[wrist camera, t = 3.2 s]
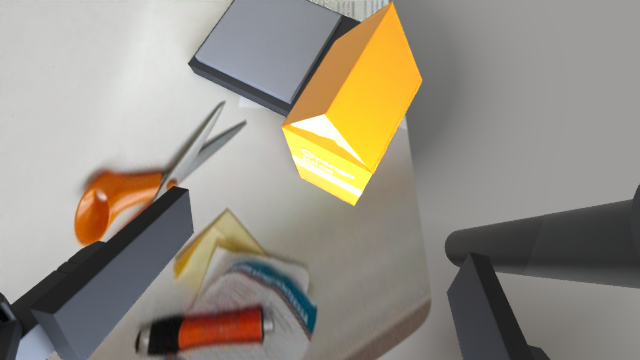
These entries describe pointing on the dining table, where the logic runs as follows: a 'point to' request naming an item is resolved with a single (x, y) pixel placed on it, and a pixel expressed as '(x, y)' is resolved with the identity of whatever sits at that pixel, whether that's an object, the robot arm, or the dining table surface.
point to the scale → (269, 49)
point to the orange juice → (353, 106)
